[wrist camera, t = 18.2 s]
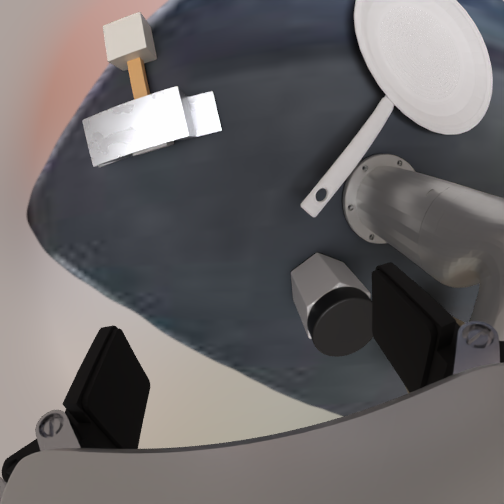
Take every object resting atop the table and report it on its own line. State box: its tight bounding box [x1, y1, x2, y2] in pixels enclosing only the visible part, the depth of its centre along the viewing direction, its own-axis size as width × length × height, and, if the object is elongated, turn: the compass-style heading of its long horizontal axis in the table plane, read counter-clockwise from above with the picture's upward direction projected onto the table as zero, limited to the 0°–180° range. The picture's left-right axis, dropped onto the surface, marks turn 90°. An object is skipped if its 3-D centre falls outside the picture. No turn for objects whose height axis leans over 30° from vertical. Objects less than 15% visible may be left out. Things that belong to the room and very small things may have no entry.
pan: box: [301, 0, 493, 217], centre depth 30 cm, size 26×44×6 cm, turn 141°
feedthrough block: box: [82, 86, 222, 167], centre depth 29 cm, size 16×5×9 cm, turn 102°
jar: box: [291, 253, 373, 356], centre depth 37 cm, size 9×8×12 cm
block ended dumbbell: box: [103, 12, 174, 156], centre depth 28 cm, size 4×16×6 cm, turn 12°
